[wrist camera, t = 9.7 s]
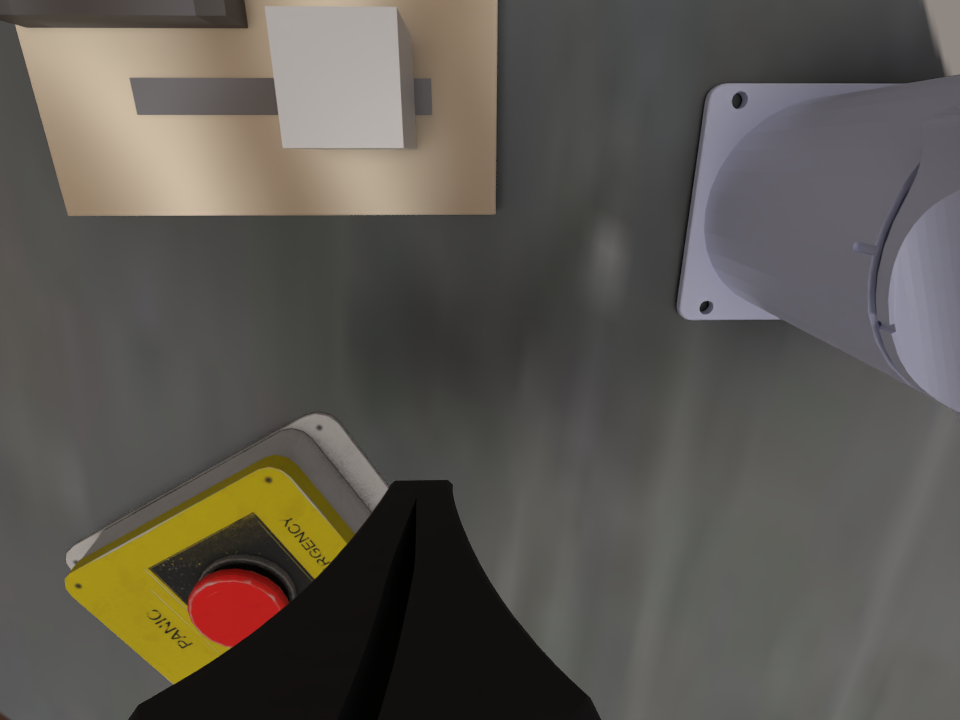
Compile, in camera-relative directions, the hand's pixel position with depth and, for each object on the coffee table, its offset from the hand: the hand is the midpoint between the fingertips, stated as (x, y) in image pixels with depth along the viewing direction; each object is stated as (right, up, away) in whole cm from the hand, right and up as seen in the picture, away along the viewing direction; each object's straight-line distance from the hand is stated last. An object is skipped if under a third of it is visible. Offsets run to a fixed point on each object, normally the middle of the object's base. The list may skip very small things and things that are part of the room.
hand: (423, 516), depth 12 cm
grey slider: (-2, +12, +4) cm, 12 cm away
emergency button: (-9, -5, +13) cm, 16 cm away
